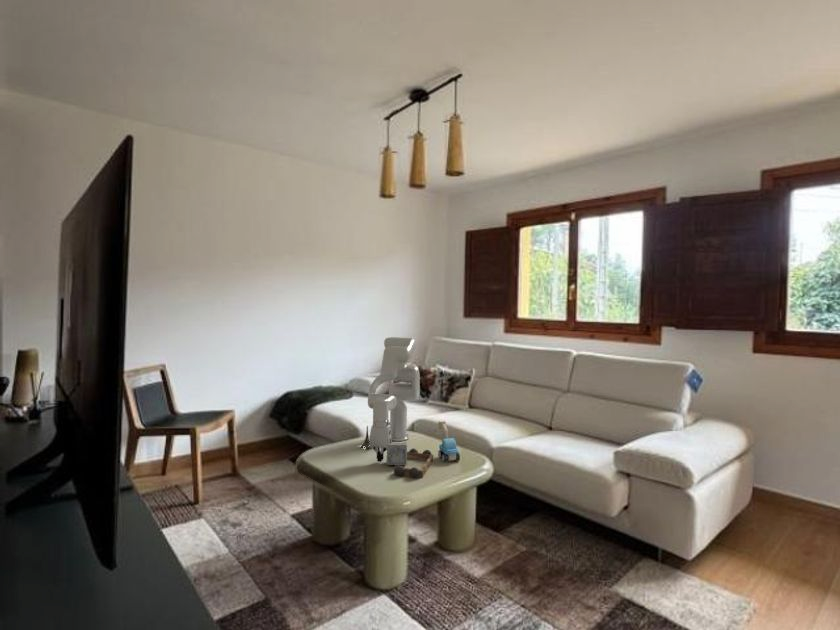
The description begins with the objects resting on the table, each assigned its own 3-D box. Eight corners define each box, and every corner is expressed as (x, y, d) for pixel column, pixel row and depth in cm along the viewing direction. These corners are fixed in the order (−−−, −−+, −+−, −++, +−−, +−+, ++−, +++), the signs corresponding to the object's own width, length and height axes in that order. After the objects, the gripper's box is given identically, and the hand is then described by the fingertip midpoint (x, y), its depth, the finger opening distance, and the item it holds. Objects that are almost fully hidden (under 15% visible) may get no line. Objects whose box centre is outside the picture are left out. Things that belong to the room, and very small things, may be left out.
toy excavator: (448, 451, 241) (449, 419, 240) (461, 462, 225) (461, 428, 224) (433, 452, 238) (434, 420, 238) (444, 464, 222) (445, 429, 222)
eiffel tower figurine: (382, 446, 249) (382, 421, 248) (380, 452, 239) (381, 427, 238) (354, 445, 249) (355, 421, 248) (352, 451, 239) (352, 426, 238)
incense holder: (406, 461, 225) (406, 440, 225) (406, 467, 217) (407, 445, 217) (386, 460, 225) (387, 440, 224) (386, 467, 217) (386, 445, 216)
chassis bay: (407, 456, 232) (408, 447, 232) (434, 459, 229) (434, 450, 228) (392, 475, 207) (392, 466, 207) (421, 479, 204) (421, 469, 203)
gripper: (397, 422, 223) (396, 459, 224) (368, 420, 227) (368, 456, 227) (392, 427, 216) (392, 465, 216) (363, 424, 219) (362, 461, 220)
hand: (379, 460), depth 222 cm, fingers closed
